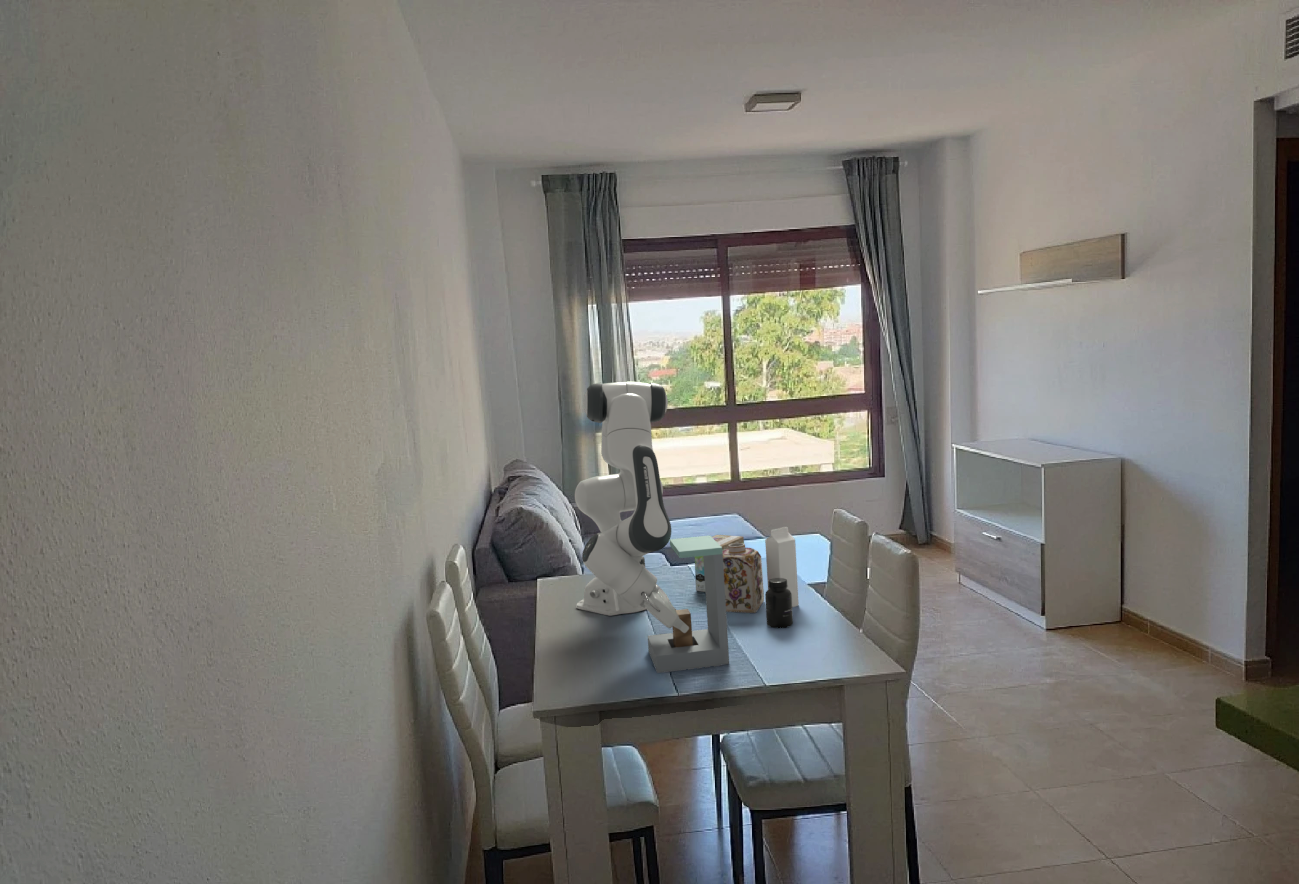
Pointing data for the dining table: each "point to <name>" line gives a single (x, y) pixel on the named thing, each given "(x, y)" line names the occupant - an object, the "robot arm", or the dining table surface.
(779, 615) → the supplement bottle
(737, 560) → the decorative jar
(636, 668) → the dining table surface
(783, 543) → the milk
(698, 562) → the tea box
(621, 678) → the dining table surface
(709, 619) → the socket stand
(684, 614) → the walnut peg
